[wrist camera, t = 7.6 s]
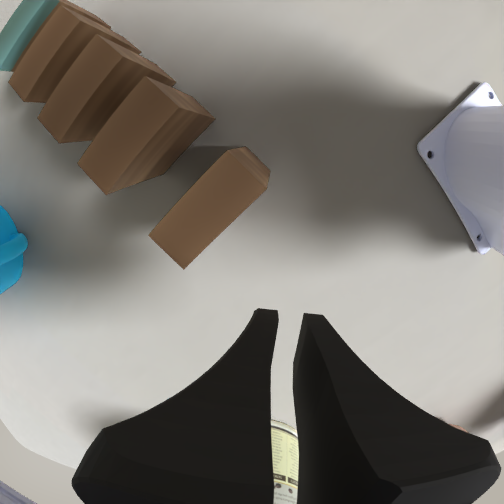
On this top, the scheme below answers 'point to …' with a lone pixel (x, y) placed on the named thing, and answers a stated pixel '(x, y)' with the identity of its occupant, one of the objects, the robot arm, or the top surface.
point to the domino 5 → (211, 205)
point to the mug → (10, 251)
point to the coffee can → (285, 462)
